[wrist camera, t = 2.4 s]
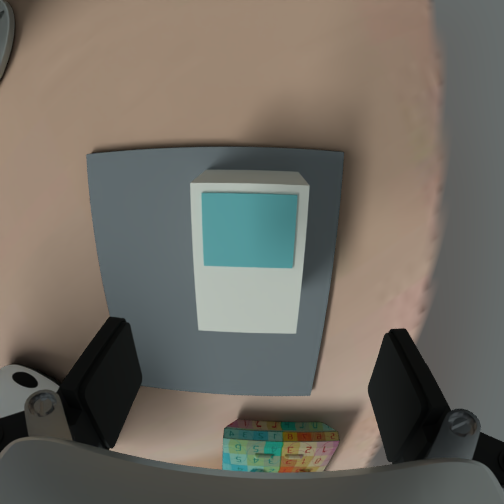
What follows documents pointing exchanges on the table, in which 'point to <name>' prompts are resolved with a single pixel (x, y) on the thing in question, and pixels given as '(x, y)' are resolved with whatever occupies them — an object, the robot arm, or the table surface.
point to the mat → (182, 267)
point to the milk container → (21, 387)
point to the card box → (248, 249)
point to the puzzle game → (278, 446)
